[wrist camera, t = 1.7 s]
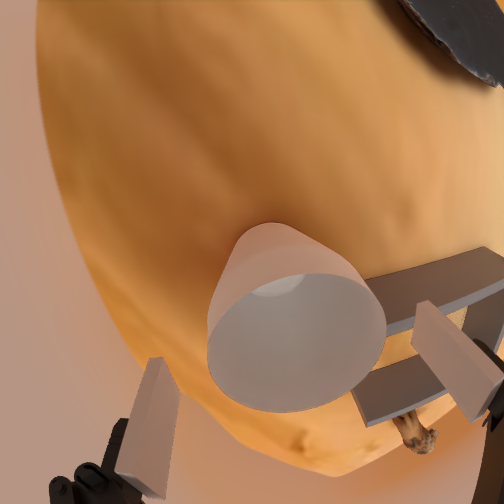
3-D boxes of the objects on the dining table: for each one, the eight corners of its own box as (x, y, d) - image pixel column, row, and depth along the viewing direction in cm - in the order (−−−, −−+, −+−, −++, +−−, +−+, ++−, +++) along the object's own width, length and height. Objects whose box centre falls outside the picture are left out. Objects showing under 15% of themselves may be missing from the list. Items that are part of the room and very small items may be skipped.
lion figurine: (424, 407, 35) (446, 443, 26) (400, 425, 36) (419, 462, 27) (395, 380, 31) (423, 427, 22) (364, 403, 32) (386, 452, 23)
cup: (287, 320, 26) (318, 424, 14) (198, 281, 24) (175, 385, 12) (342, 239, 23) (420, 313, 12) (249, 186, 21) (267, 227, 10)
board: (307, -48, 13) (322, -77, 8) (419, -58, 10) (437, -72, 5) (445, 126, 20) (483, 125, 15) (510, 68, 17) (535, 66, 12)
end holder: (345, 285, 25) (376, 328, 18) (484, 246, 24) (522, 268, 18) (343, 386, 30) (361, 429, 23) (463, 339, 30) (490, 367, 23)
